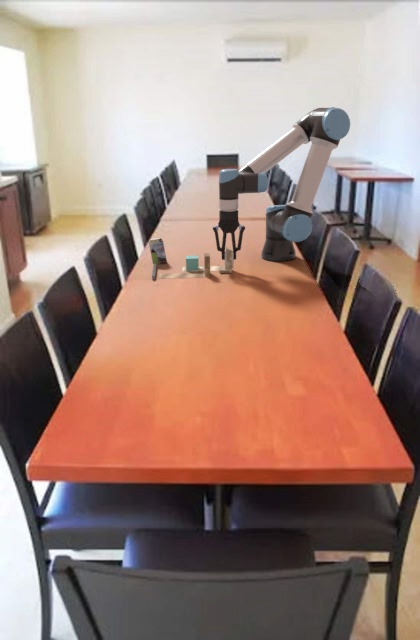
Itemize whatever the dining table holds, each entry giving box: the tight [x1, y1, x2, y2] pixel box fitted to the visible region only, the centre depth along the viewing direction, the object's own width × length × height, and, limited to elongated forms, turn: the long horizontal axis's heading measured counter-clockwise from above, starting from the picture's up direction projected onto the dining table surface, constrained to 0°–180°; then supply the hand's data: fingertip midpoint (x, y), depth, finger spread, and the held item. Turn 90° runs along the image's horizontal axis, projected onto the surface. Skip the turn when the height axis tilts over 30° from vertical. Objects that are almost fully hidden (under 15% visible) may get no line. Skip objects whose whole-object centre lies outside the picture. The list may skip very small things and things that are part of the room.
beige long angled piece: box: [182, 246, 233, 274], centre depth 230 cm, size 20×7×9 cm, turn 93°
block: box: [185, 254, 200, 272], centre depth 230 cm, size 5×5×5 cm
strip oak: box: [158, 252, 211, 280], centre depth 221 cm, size 20×7×9 cm, turn 93°
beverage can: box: [148, 236, 168, 266], centre depth 240 cm, size 6×7×12 cm
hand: (228, 267), depth 231 cm, fingers closed on beige long angled piece, 2 cm apart
